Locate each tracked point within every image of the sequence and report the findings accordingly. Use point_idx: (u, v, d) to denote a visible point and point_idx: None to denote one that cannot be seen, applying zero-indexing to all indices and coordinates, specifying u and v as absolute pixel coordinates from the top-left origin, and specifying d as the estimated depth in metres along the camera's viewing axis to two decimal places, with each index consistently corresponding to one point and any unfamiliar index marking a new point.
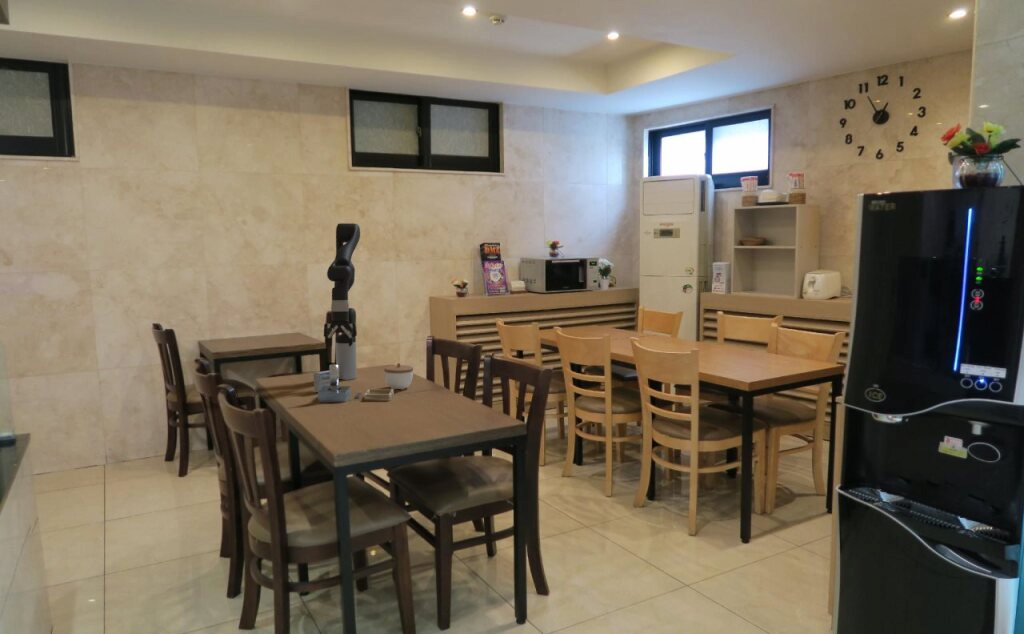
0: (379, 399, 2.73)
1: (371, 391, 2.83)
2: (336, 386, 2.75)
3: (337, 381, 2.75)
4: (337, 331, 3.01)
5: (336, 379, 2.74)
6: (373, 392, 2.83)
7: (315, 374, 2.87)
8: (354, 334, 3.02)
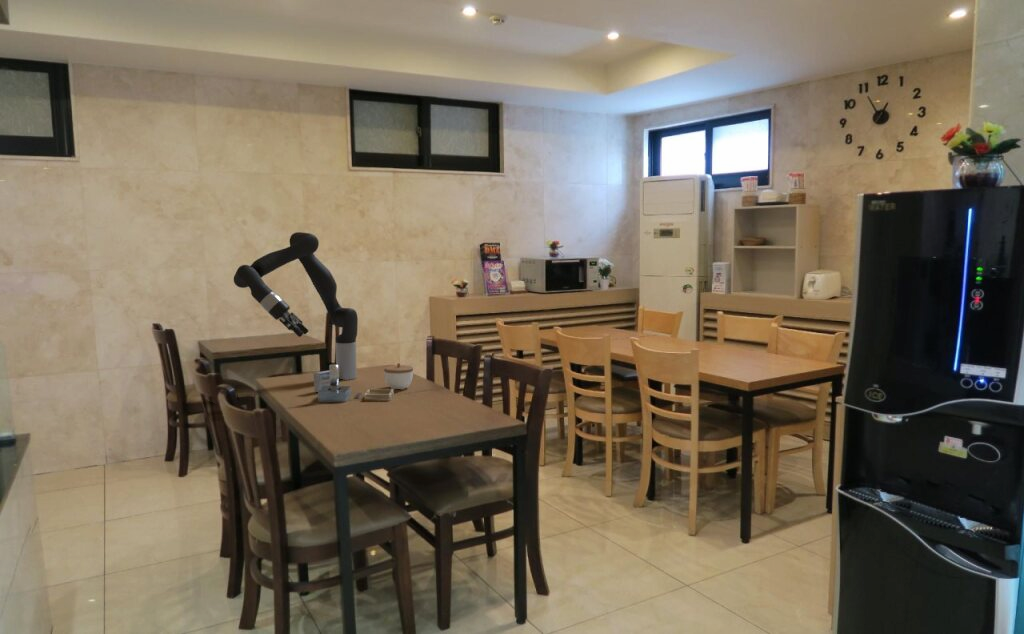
0: (379, 399, 2.73)
1: (371, 391, 2.83)
2: (336, 386, 2.75)
3: (337, 381, 2.75)
4: None
5: (336, 379, 2.74)
6: (373, 392, 2.83)
7: (315, 374, 2.87)
8: None
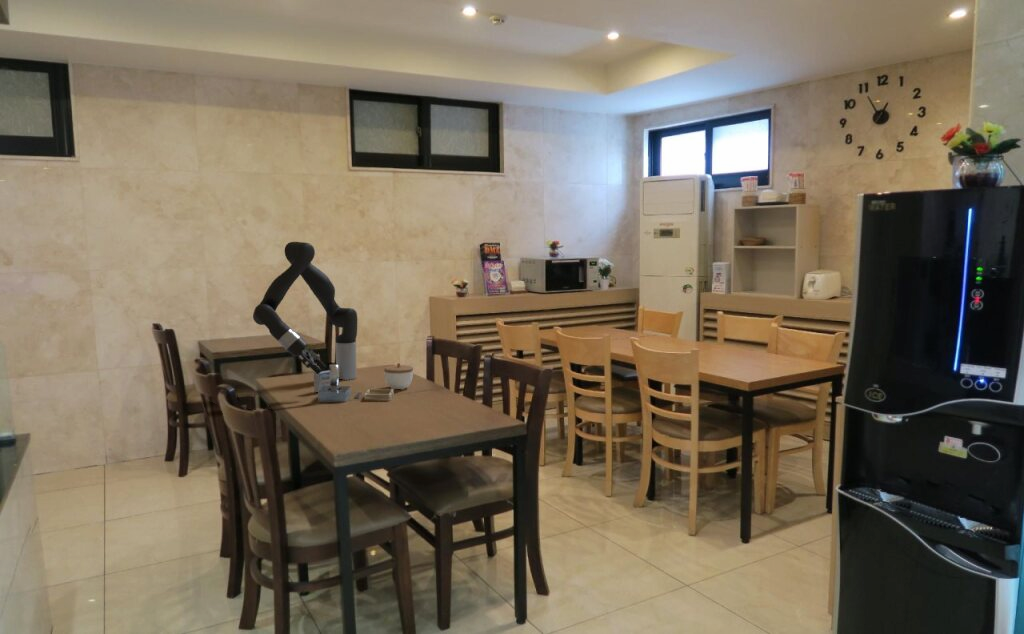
0: (379, 399, 2.73)
1: (371, 391, 2.83)
2: (336, 386, 2.75)
3: (337, 381, 2.75)
4: None
5: (336, 379, 2.74)
6: (373, 392, 2.83)
7: (315, 374, 2.87)
8: None
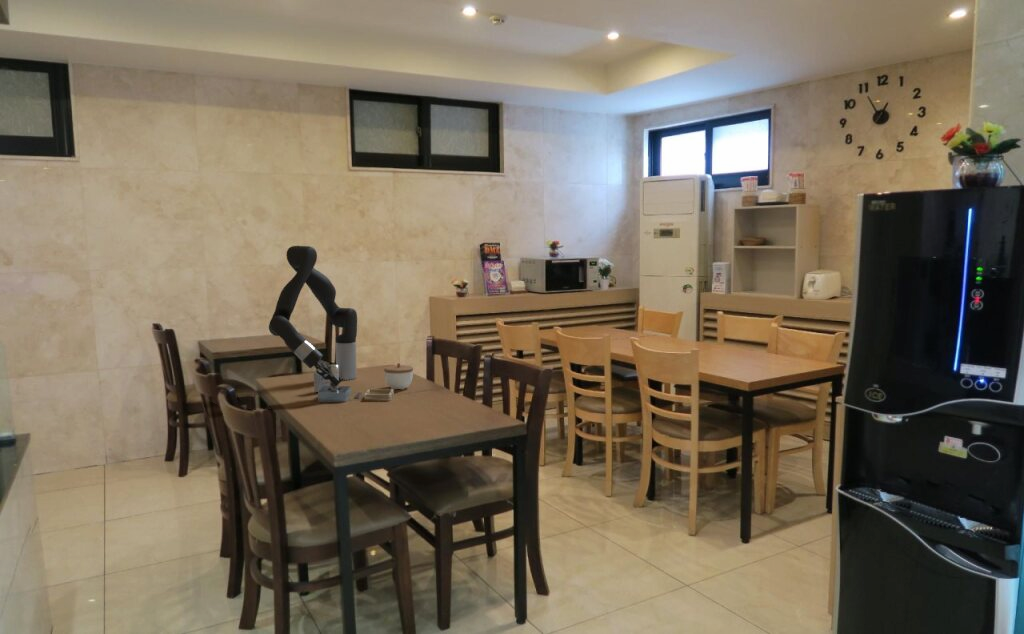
0: (379, 399, 2.73)
1: (371, 391, 2.83)
2: (336, 386, 2.75)
3: None
4: None
5: None
6: (373, 392, 2.83)
7: (315, 374, 2.87)
8: None
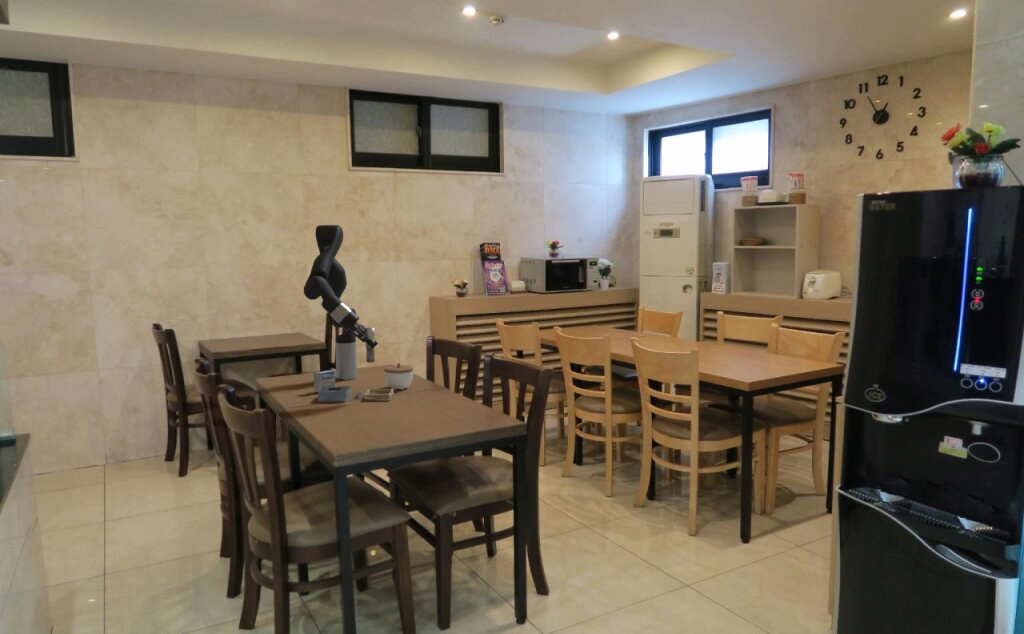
0: (379, 399, 2.73)
1: (371, 391, 2.83)
2: (372, 349, 2.75)
3: None
4: None
5: None
6: (373, 392, 2.83)
7: (315, 374, 2.87)
8: None
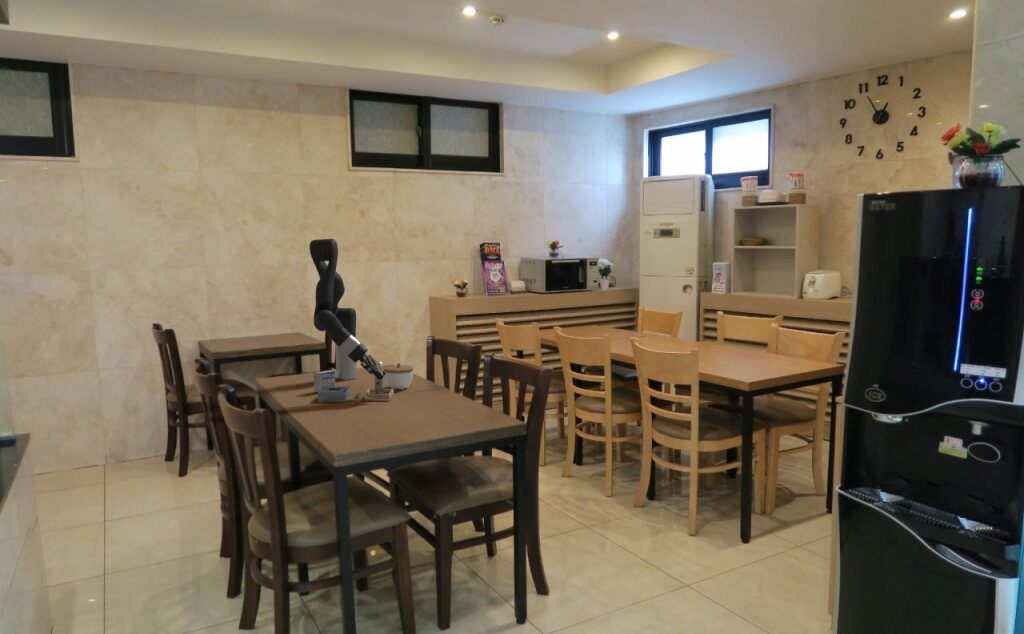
0: (379, 399, 2.73)
1: (371, 391, 2.83)
2: (380, 383, 2.77)
3: None
4: None
5: None
6: (373, 392, 2.83)
7: (315, 374, 2.87)
8: None
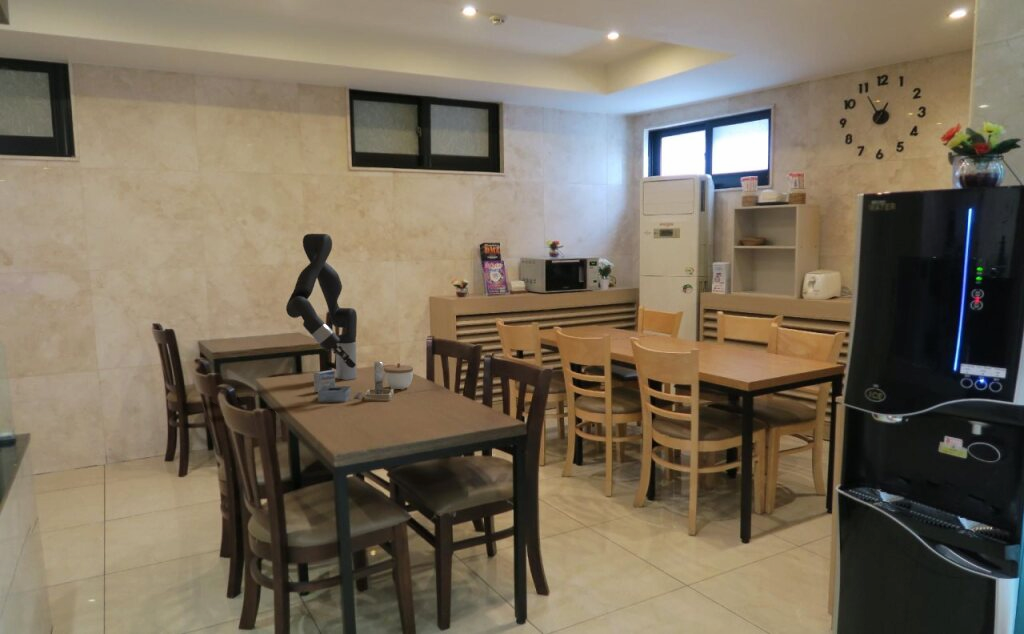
0: (379, 399, 2.73)
1: (371, 391, 2.83)
2: (381, 383, 2.77)
3: (382, 378, 2.77)
4: None
5: (381, 376, 2.76)
6: (373, 392, 2.83)
7: (315, 374, 2.87)
8: (343, 359, 2.70)
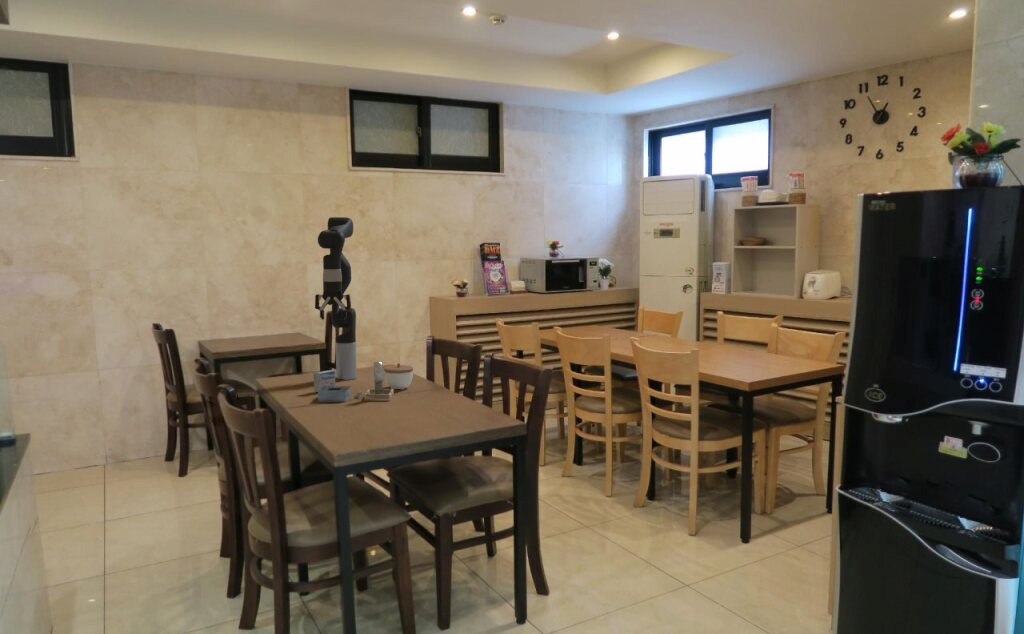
0: (379, 399, 2.73)
1: (371, 391, 2.83)
2: (380, 383, 2.77)
3: (381, 378, 2.77)
4: (329, 303, 2.77)
5: (380, 376, 2.76)
6: (373, 392, 2.83)
7: (315, 374, 2.87)
8: (348, 306, 2.77)
